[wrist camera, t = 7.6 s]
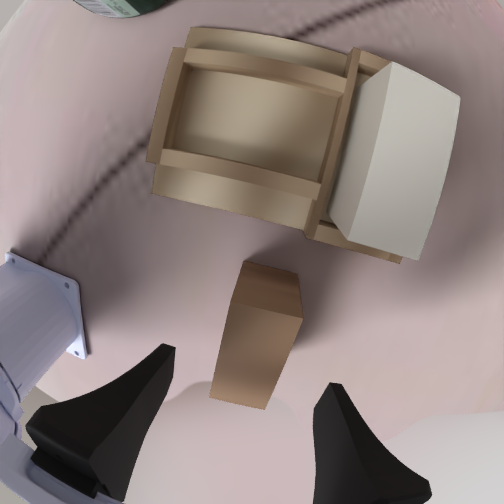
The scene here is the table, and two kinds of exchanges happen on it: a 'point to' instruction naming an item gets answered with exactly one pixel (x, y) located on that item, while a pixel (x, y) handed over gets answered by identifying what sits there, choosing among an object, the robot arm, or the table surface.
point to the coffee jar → (120, 7)
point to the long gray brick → (394, 161)
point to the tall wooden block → (257, 335)
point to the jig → (258, 128)
